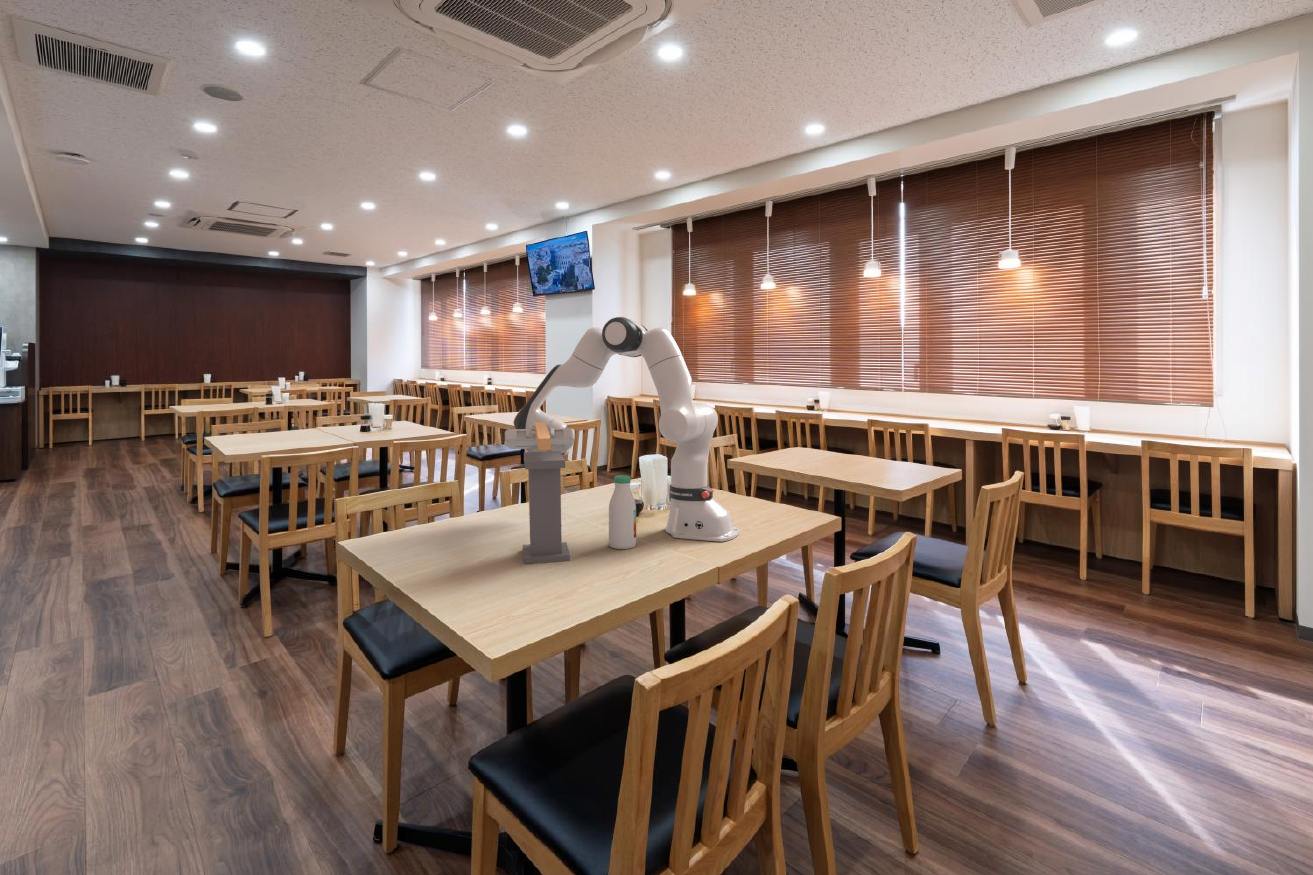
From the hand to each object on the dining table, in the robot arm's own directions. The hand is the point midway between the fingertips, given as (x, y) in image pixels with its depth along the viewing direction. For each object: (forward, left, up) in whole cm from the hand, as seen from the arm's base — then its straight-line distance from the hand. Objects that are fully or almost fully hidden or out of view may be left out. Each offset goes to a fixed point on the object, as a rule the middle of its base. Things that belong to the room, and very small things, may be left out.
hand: (540, 427), depth 182 cm
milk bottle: (-24, -5, -33) cm, 41 cm away
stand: (-10, +12, -33) cm, 36 cm away
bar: (-6, +8, -3) cm, 10 cm away
